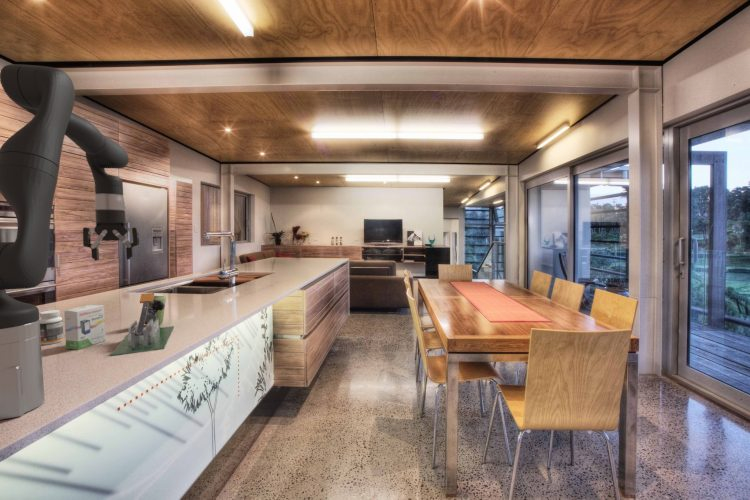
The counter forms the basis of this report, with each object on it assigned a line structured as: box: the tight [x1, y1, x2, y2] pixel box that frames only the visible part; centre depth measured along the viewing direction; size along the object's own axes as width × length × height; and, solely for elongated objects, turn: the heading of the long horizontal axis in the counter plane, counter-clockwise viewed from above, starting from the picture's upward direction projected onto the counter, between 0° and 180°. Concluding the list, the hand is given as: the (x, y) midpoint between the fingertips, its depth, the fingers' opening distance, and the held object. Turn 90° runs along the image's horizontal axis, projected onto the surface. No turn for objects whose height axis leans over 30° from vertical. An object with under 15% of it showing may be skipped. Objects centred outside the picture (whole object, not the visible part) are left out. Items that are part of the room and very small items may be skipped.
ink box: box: [63, 304, 107, 351], centre depth 105 cm, size 9×5×12 cm, turn 168°
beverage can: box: [144, 292, 167, 326], centre depth 126 cm, size 6×7×12 cm
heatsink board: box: [110, 313, 175, 357], centre depth 109 cm, size 25×13×6 cm, turn 25°
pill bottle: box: [39, 309, 64, 346], centre depth 107 cm, size 6×6×10 cm
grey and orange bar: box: [135, 292, 155, 336], centre depth 107 cm, size 19×4×1 cm
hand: (113, 259), depth 108 cm, fingers open, 8 cm apart
